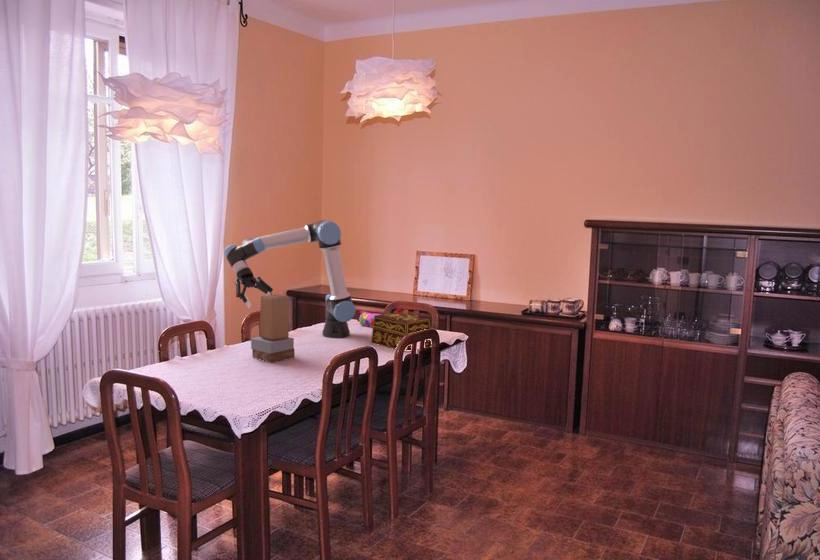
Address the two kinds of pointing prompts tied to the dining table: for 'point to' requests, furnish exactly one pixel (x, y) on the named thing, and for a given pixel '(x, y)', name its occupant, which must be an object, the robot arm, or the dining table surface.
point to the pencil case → (366, 318)
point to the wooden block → (274, 317)
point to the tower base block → (273, 355)
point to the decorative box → (397, 328)
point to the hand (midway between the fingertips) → (262, 305)
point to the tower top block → (272, 344)
